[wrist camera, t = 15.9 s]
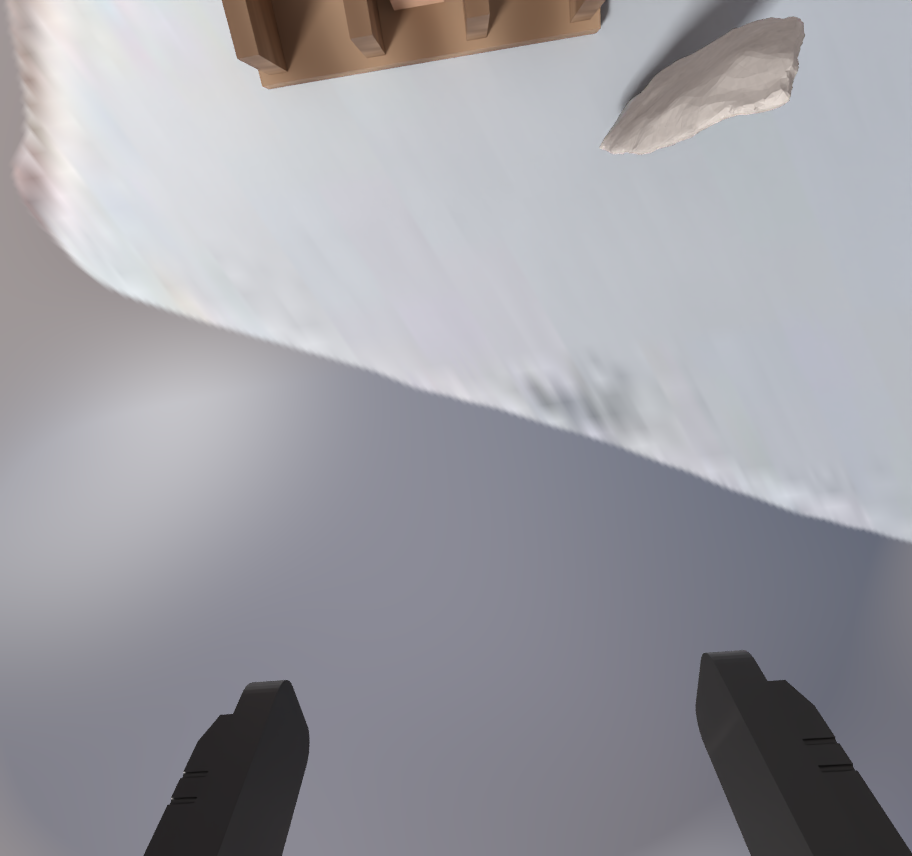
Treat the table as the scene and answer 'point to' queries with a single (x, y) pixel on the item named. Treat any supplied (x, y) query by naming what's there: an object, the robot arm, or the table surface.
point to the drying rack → (389, 33)
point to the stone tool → (712, 87)
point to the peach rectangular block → (411, 3)
